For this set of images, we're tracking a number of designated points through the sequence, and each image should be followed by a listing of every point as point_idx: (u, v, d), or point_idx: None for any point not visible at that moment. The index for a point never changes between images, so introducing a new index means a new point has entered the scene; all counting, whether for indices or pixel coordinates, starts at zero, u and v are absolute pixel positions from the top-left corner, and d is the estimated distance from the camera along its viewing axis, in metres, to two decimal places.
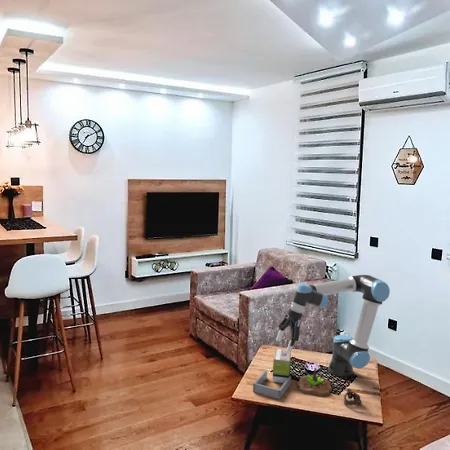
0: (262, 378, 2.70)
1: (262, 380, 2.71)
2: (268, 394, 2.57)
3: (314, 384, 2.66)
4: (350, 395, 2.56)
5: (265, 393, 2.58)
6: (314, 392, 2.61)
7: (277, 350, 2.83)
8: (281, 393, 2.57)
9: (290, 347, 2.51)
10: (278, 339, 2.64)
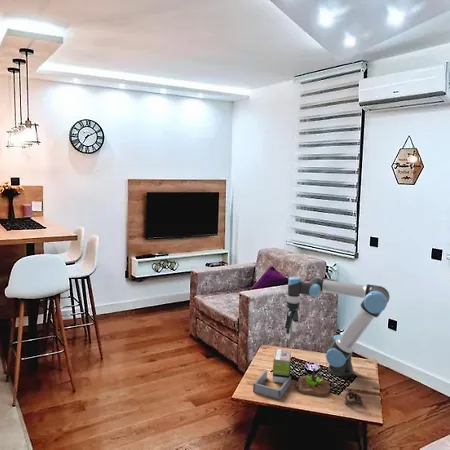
0: (262, 378, 2.70)
1: (262, 380, 2.71)
2: (268, 394, 2.57)
3: (313, 384, 2.66)
4: (351, 395, 2.56)
5: (265, 393, 2.58)
6: (313, 392, 2.60)
7: (277, 350, 2.83)
8: (281, 393, 2.57)
9: (287, 334, 2.83)
10: (293, 329, 2.94)
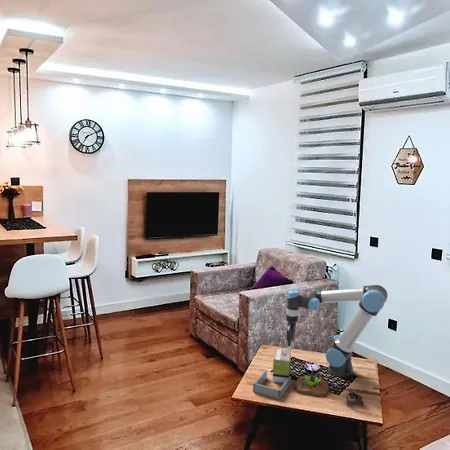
0: (262, 378, 2.70)
1: (262, 380, 2.71)
2: (268, 394, 2.57)
3: (311, 384, 2.65)
4: (352, 395, 2.56)
5: (265, 393, 2.58)
6: (311, 392, 2.60)
7: (277, 350, 2.83)
8: (281, 393, 2.57)
9: (289, 347, 2.90)
10: None
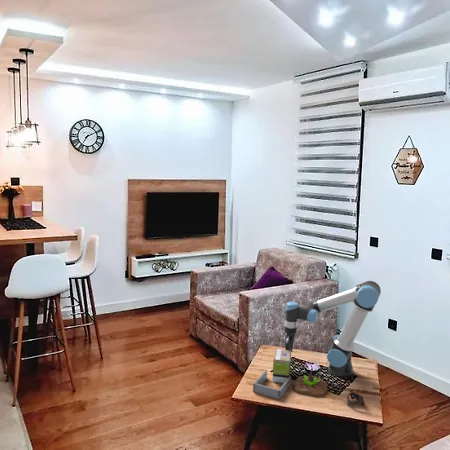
0: (262, 378, 2.70)
1: (262, 380, 2.71)
2: (268, 394, 2.57)
3: (310, 384, 2.65)
4: (353, 395, 2.56)
5: (265, 393, 2.58)
6: (309, 392, 2.60)
7: (277, 350, 2.83)
8: (281, 393, 2.57)
9: None
10: None
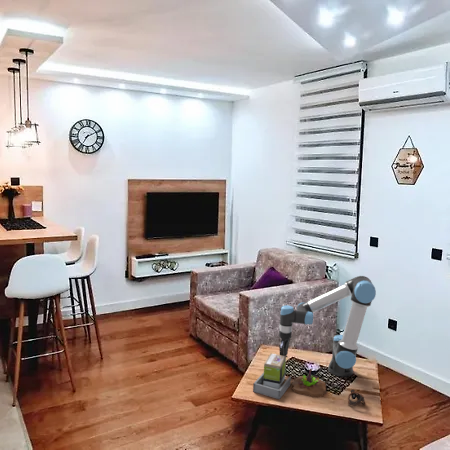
0: (262, 378, 2.70)
1: (262, 380, 2.71)
2: (268, 394, 2.57)
3: (308, 385, 2.65)
4: (354, 395, 2.56)
5: (265, 393, 2.58)
6: (307, 392, 2.60)
7: (271, 354, 2.76)
8: (281, 393, 2.57)
9: None
10: None
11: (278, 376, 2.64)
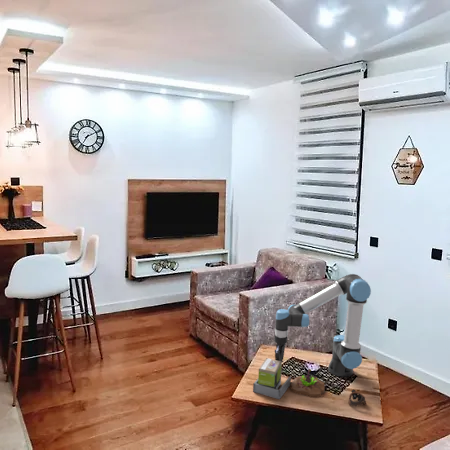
0: None
1: None
2: (268, 394, 2.57)
3: (307, 385, 2.65)
4: (355, 396, 2.56)
5: (265, 393, 2.58)
6: (305, 392, 2.60)
7: (267, 359, 2.70)
8: (281, 393, 2.57)
9: None
10: None
11: (273, 382, 2.57)
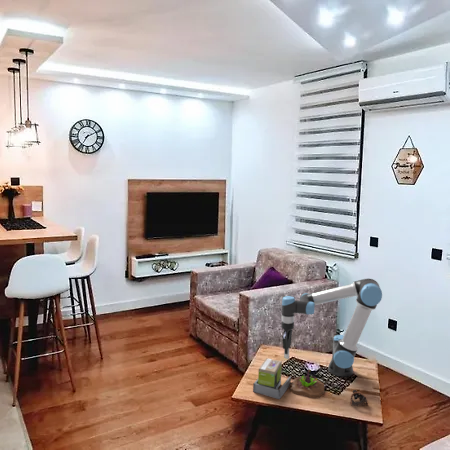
0: None
1: None
2: (268, 394, 2.57)
3: (306, 385, 2.64)
4: (356, 396, 2.56)
5: (265, 393, 2.58)
6: (304, 393, 2.59)
7: (267, 359, 2.70)
8: (281, 393, 2.57)
9: (286, 355, 2.82)
10: None
11: (273, 382, 2.57)
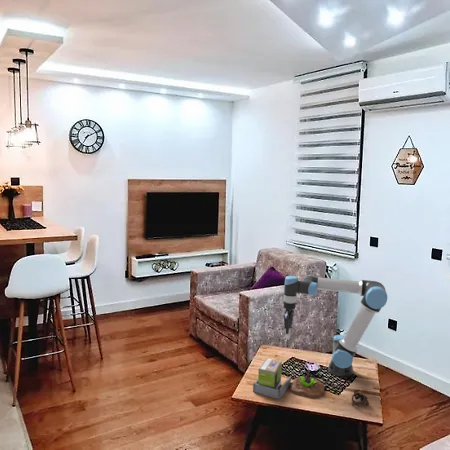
0: None
1: None
2: (268, 394, 2.57)
3: (306, 385, 2.64)
4: (357, 396, 2.55)
5: (265, 393, 2.58)
6: (304, 393, 2.59)
7: (267, 359, 2.70)
8: (281, 393, 2.57)
9: (287, 335, 2.82)
10: None
11: (273, 382, 2.57)
